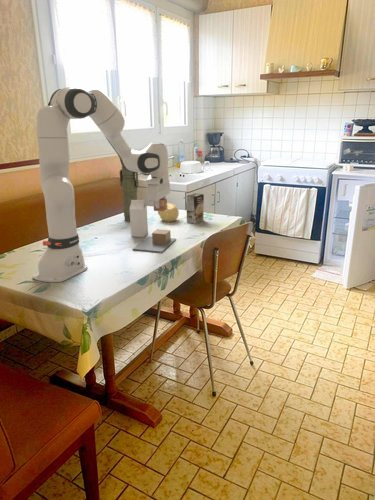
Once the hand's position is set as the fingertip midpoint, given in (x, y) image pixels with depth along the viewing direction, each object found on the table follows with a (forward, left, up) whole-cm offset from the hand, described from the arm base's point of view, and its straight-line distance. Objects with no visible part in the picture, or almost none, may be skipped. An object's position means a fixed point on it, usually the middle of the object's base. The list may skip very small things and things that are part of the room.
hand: (160, 206), depth 183 cm
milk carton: (+9, +16, -19) cm, 26 cm away
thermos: (+37, +34, -19) cm, 54 cm away
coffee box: (+43, -5, -19) cm, 47 cm away
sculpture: (+41, +11, -19) cm, 46 cm away
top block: (0, 0, -2) cm, 2 cm away
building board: (-4, +2, -18) cm, 19 cm away
